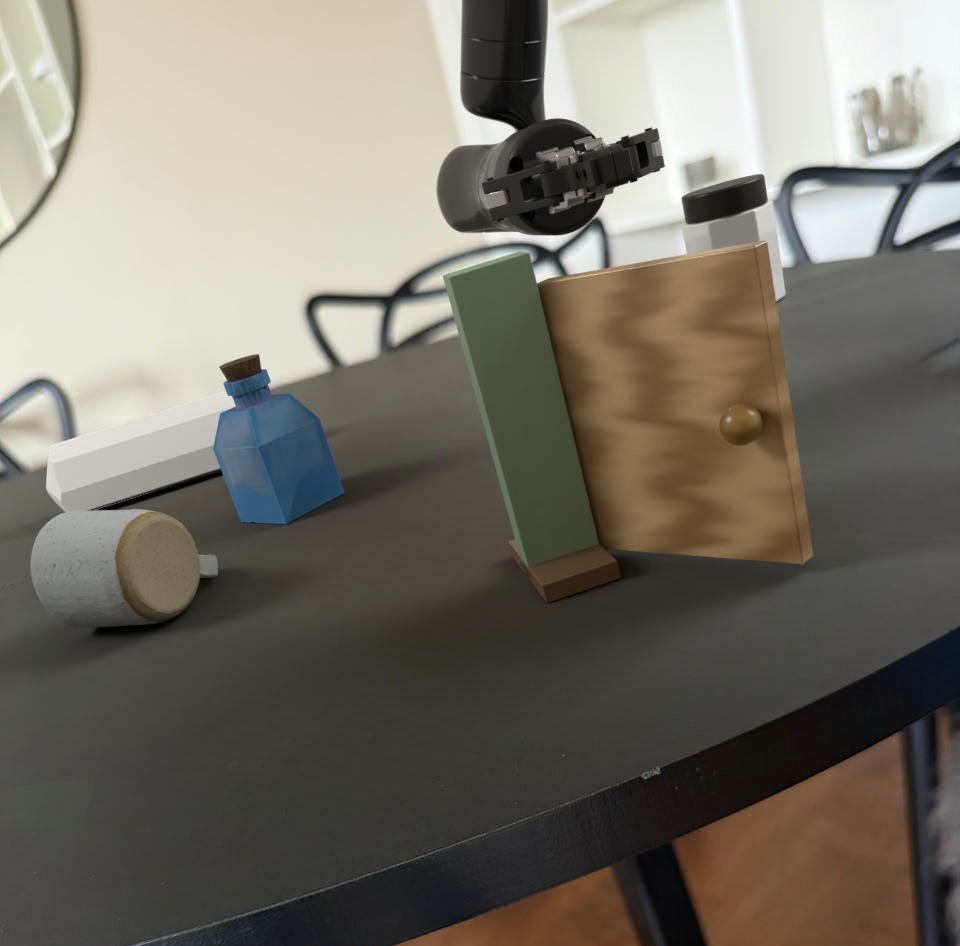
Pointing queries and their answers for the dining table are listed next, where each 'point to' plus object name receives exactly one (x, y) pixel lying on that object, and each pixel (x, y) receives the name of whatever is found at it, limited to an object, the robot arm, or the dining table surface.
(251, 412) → the perfume bottle
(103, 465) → the white beveled bar
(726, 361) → the door
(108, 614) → the ceramic mug
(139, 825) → the dining table surface
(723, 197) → the jar
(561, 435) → the door wall
